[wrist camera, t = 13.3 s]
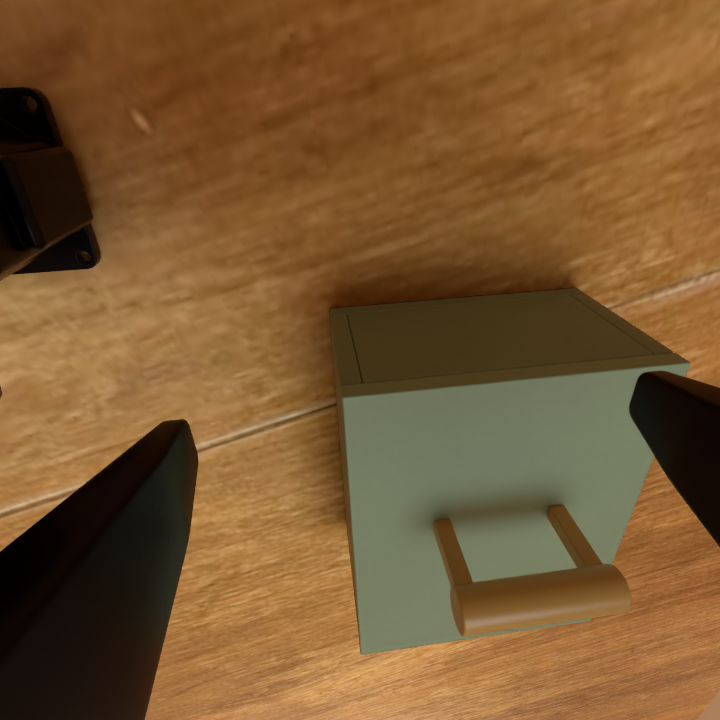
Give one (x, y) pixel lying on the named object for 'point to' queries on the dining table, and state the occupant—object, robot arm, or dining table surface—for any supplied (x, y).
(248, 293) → the dining table surface
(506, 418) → the lid
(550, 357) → the green box
